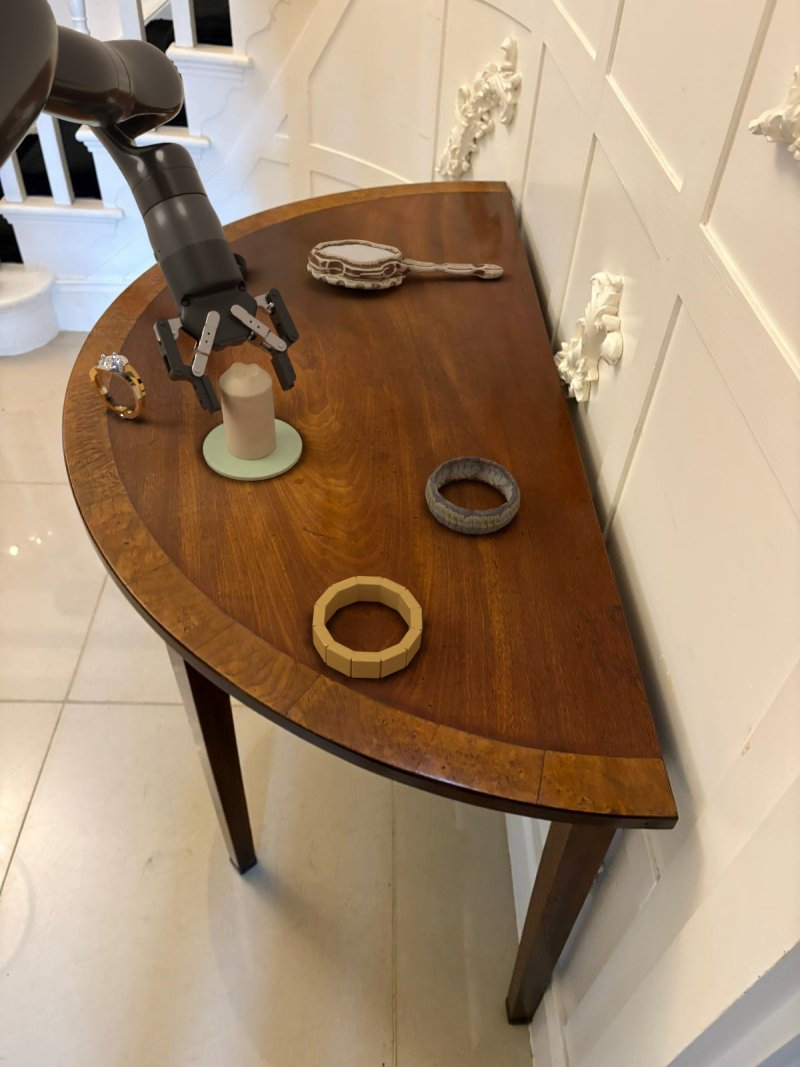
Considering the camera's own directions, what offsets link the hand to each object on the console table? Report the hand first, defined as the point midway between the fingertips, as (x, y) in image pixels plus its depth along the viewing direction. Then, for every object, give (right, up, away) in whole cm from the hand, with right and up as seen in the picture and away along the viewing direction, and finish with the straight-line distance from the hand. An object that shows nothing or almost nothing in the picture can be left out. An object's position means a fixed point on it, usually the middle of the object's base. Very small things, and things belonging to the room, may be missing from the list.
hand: (253, 400), depth 83 cm
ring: (-17, 0, +9) cm, 19 cm away
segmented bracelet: (+12, -23, -12) cm, 29 cm away
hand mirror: (+16, +24, +36) cm, 46 cm away
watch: (-10, +23, +33) cm, 42 cm away
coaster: (-1, -4, +6) cm, 8 cm away
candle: (-1, -4, +6) cm, 7 cm away
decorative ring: (+23, -11, +1) cm, 26 cm away
